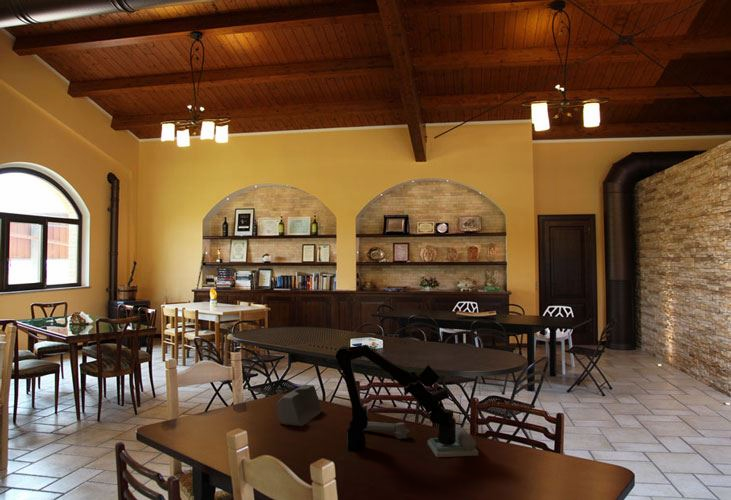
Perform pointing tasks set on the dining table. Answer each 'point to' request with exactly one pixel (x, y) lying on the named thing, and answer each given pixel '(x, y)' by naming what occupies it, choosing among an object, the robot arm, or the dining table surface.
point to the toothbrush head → (389, 428)
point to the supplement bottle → (447, 430)
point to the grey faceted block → (299, 406)
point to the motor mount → (455, 445)
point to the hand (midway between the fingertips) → (450, 424)
